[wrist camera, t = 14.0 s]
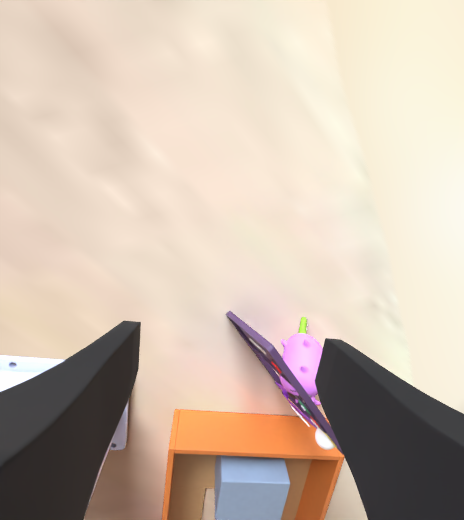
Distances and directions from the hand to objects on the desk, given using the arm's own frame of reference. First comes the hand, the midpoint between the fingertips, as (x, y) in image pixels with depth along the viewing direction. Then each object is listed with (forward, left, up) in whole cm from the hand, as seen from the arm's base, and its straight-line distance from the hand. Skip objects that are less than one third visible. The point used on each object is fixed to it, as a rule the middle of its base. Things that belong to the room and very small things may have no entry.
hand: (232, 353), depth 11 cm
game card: (+5, -5, -10) cm, 12 cm away
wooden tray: (+4, -22, -9) cm, 24 cm away
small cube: (+4, -16, -9) cm, 19 cm away
